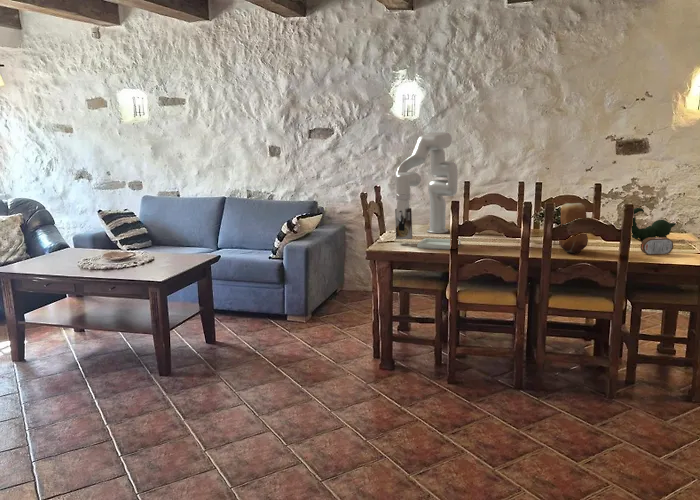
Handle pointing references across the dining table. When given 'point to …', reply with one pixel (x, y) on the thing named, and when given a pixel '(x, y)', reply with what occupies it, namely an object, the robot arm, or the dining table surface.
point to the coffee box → (408, 226)
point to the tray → (435, 243)
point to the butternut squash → (568, 215)
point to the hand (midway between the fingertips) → (403, 228)
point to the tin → (656, 245)
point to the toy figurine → (651, 228)
